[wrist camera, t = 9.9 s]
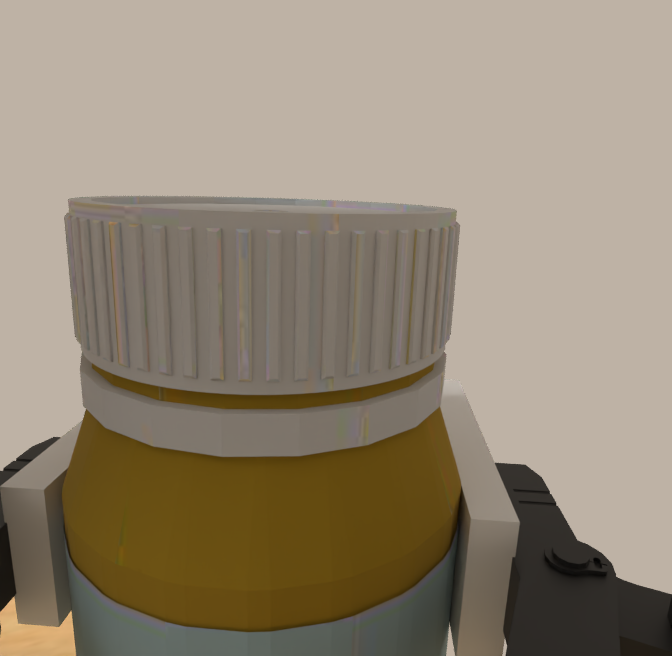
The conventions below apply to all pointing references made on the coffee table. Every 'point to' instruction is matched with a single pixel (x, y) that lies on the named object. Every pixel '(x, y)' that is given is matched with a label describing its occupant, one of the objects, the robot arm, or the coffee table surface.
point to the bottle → (261, 427)
